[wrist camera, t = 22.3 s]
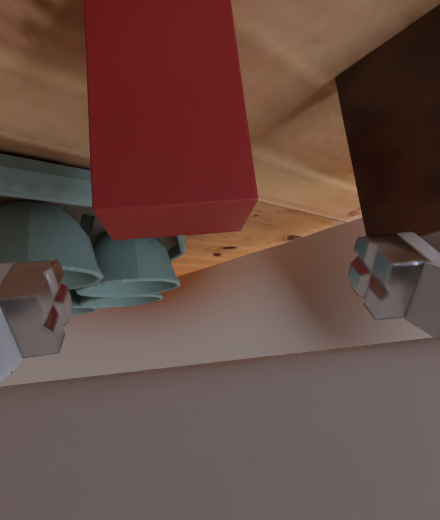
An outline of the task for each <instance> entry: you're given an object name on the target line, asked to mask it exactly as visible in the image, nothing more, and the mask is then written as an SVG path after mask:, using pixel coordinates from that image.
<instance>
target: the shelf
mask: <svg viewBox="0 0 440 520" xmlns="http://www.w3.org/2000/svg"><path fill="white" fill-rule="evenodd" d="M335 81H336V86H337V91H338V96H339V101H340V106H341V111H342V116H343V121H344V126H345V131H346V136H347V141H348V146H349V151H350V156H351V161H352V166H353V171H354V176H355V181H356V186H357V191H358V196H359V201H360V206H361V211H362V216H363V222H364V224H365V225H364V227H365V232H366V236H372V235H382V234H391V233H400V232H414V233H415V234H417V235H418V236H419V237H420V238H422V239H423V240H424V241H425V242H427V243H428V244H429V245H431V246H432V247H433V248H434V249H436V250H437V251H438V252H439V253H440V6H438V7H437V8H435V9H434V10H432V11H431V12H430V13H428V14H427V15H425V16H424V17H422V18H421V19H419V20H418V21H417V22H415V23H414V24H412V25H411V26H409V27H408V28H407V29H405V30H404V31H402V32H401V33H399V34H398V35H396V36H395V37H394V38H392V39H391V40H389V41H388V42H386V43H385V44H384V45H382V46H381V47H379V48H378V49H376V50H375V51H373V52H372V53H371V54H369V55H368V56H366V57H365V58H363V59H362V60H361V61H359V62H358V63H356V64H355V65H353V66H352V67H350V68H349V69H348V70H346V71H345V72H343V73H342V74H340V75H339V76H337V77H336V78H335Z"/></svg>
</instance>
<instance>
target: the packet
mask: <svg viewBox="0 0 440 520" xmlns="http://www.w3.org/2000/svg"><path fill="white" fill-rule="evenodd" d="M84 16H85V41H86V67H87V92H88V117H89V142H90V167H91V192H92V210H93V212H94V213H95V215H96V216H97V218H98V219H99V221H100V222H101V224H102V225H103V227H104V228H105V230H106V231H107V233H108V234H109V236H110V237H111V239H112V240H114V241H115V240H128V239H141V238H154V237H168V236H181V235H194V234H208V233H221V232H234V231H241V229H242V228H243V226H244V224H245V222H246V220H247V219H248V217H249V215H250V213H251V212H252V210H253V208H254V206H255V204H256V203H257V201H258V194H257V186H256V179H255V172H254V165H253V158H252V151H251V143H250V136H249V129H248V122H247V115H246V107H245V100H244V93H243V86H242V79H241V71H240V64H239V57H238V50H237V43H236V36H235V28H234V21H233V14H232V7H231V0H84Z"/></svg>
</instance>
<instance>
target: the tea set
mask: <svg viewBox="0 0 440 520" xmlns="http://www.w3.org/2000/svg"><path fill="white" fill-rule="evenodd" d="M185 252H186V250H185V239H184V235H181V236H168V237H154V238H141V239H128V240H115V241H114V240H112V239H111V237H110V236H109V234H108V233H107V231H106V230H105V228H104V227H103V225H102V224H101V222H100V221H99V219H98V218H97V216H96V215H95V213H94V212H93V210H92V192H91V171H90V170H84V169H79V168H74V167H69V166H63V165H58V164H53V163H48V162H42V161H37V160H32V159H26V158H21V157H16V156H11V155H5V154H0V263H11V262H16V263H17V262H29V261H46V260H58V261H59V262H60V263H61V266H62V269H63V272H64V276H63V279H62V281H61V282H62V283H63V284H64V285H65V286H67V287H68V289H69V292H70V296H71V315H75V314H83V313H89V312H93V311H96V310H97V309H98V308H101V307H122V306H132V305H140V304H146V303H152V302H156V301H159V300H161V299H163V297H162V295H161V294H160V292H164V291H169V290H172V289H174V288H176V287H179V286H180V282H179V281H178V279H177V277H176V275H175V273H174V270H173V267H172V264H171V261H173V260H174V259H176V258H178V257H180V256H181V255H183V254H185ZM10 373H12V371H11V372H10Z"/></svg>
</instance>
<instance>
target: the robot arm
mask: <svg viewBox="0 0 440 520" xmlns="http://www.w3.org/2000/svg"><path fill="white" fill-rule="evenodd" d="M354 252H355V253H356V255H357V257H356V258H355V259H354V260H353V261H352V263H351V264H350V270H349V279H350V284H351V286H352V289H353V290H354V291H355V293H356V294H357V295H359V296H361V297H363V298H365V302H364V305H365V307H366V308H367V309H368V311H369V312H370V314H371V315H372V316H373V318H374V319H375V320H383V319H395V318H405V320H407V321H409V322H410V323H412V324H414V325H415V326H417V327H418V328H420V329H421V330H423V331H424V332H426V333H428V334H429V335H431V336H432V337H433V338H424V339H415V340H406V341H399V342H389V343H380V344H371V345H363V346H354V347H346V348H336V349H328V350H319V351H310V352H302V353H293V354H284V355H276V356H266V357H257V358H248V359H240V360H232V361H222V362H213V363H204V364H195V365H187V366H179V367H170V368H161V369H151V370H143V371H134V372H125V373H116V374H108V375H99V376H90V377H81V378H72V379H63V380H55V381H46V382H37V383H28V384H19V385H11V386H3V387H0V520H440V253H439V252H438V251H437V250H436V249H434V248H433V247H432V246H431V245H429V244H428V243H427V242H425V241H424V240H423V239H422V238H420V237H419V236H418V235H417V234H415V233H414V232H400V233H391V234H382V235H372V236H363V237H359V238H358V239H357V241H356V243H355V247H354ZM63 276H64V272H63V269H62V266H61V263H60V262H59V261H58V260H46V261H29V262H17V263H16V262H11V263H0V382H1V381H2V380H3V379H4V378H5V377H6V376H7V375H8V374H9V373H10V372H11V371H12V370H13V369H14V368H16V367H17V365H19V364H20V363H21V362H22V361H23V358H29V357H36V356H44V355H52V354H59V352H60V349H61V346H62V342H63V339H64V336H65V333H64V329H63V327H64V326H65V325H66V324H67V323H68V322H69V320H70V316H71V296H70V292H69V289H68V287H67V286H65V285H64V284H63V283H62V282H61V281H62V279H63Z"/></svg>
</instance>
